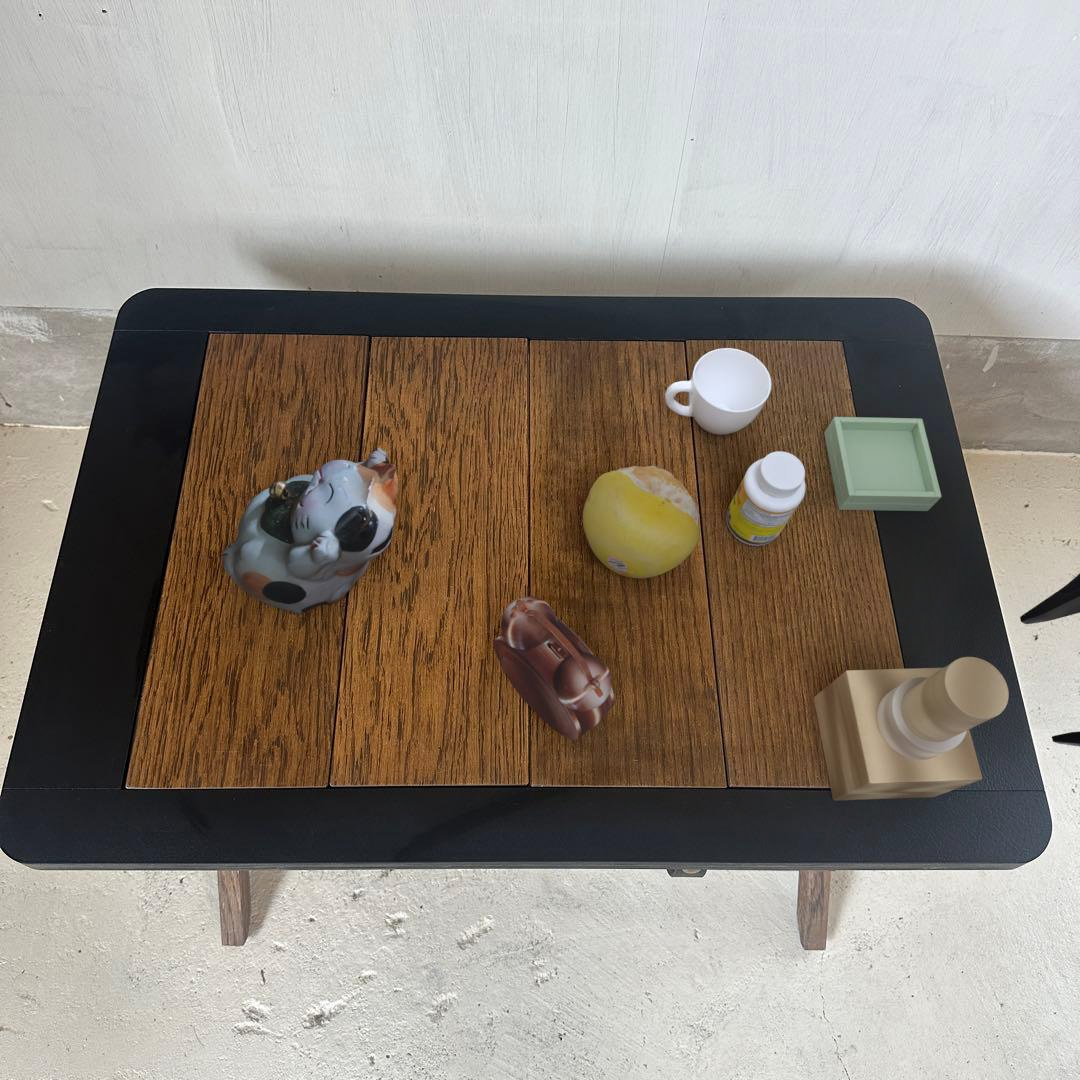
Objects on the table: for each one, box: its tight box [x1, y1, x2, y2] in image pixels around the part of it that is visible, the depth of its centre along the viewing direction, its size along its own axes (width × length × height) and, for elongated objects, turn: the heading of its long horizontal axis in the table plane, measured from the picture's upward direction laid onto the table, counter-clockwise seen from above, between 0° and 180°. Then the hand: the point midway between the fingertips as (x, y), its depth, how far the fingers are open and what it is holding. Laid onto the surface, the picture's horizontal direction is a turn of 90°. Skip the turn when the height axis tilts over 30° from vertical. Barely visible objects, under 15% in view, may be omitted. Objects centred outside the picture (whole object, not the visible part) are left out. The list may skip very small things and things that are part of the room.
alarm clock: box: [492, 596, 616, 741], centre depth 68 cm, size 11×5×15 cm, turn 42°
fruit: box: [582, 465, 701, 579], centre depth 78 cm, size 10×11×10 cm
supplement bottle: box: [726, 450, 806, 547], centre depth 79 cm, size 6×6×10 cm
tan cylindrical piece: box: [877, 656, 1010, 760], centre depth 63 cm, size 6×6×10 cm
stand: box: [813, 667, 983, 802], centre depth 71 cm, size 9×9×8 cm
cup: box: [664, 347, 772, 436], centre depth 86 cm, size 8×10×7 cm
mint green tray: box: [823, 416, 942, 512], centre depth 86 cm, size 9×9×3 cm
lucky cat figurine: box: [221, 447, 399, 615], centre depth 75 cm, size 15×12×14 cm
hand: (1037, 678), depth 64 cm, fingers open, 9 cm apart
